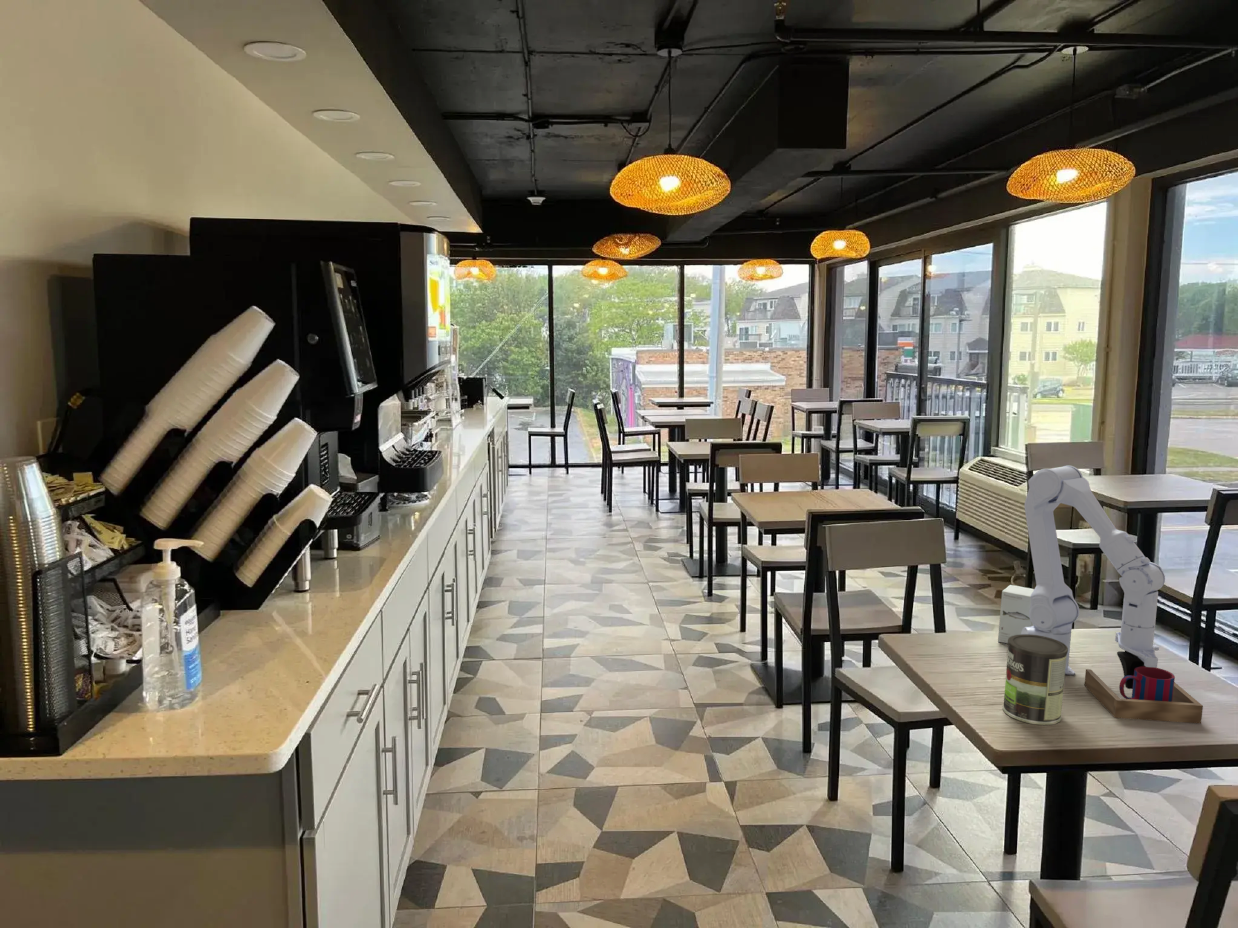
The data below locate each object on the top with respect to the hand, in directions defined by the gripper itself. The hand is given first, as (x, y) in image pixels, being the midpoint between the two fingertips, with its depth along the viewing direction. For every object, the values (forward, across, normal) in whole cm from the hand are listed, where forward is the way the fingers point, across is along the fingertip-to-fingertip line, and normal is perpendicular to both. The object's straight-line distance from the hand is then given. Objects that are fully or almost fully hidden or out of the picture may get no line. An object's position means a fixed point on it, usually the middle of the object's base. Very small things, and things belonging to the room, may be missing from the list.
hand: (1131, 688), depth 174 cm
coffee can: (+2, -12, +23) cm, 26 cm away
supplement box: (+2, +29, +13) cm, 32 cm away
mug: (+2, -5, 0) cm, 5 cm away
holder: (+1, -4, 0) cm, 4 cm away
